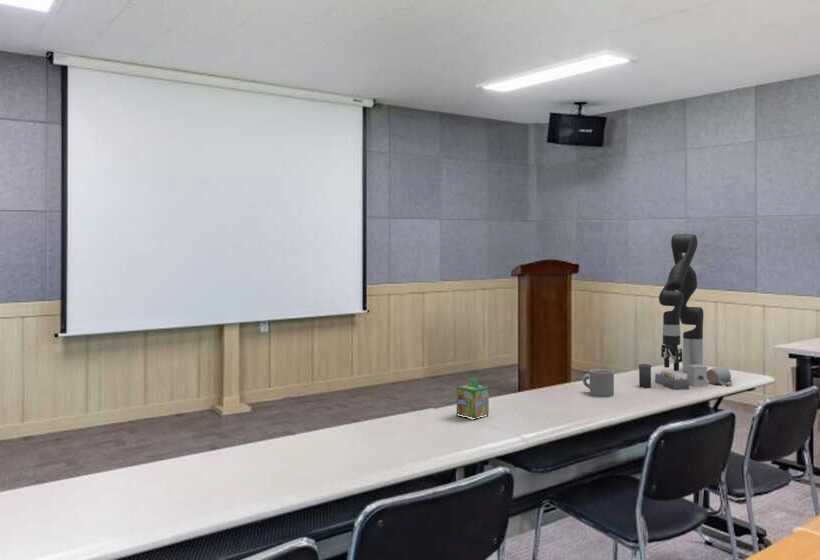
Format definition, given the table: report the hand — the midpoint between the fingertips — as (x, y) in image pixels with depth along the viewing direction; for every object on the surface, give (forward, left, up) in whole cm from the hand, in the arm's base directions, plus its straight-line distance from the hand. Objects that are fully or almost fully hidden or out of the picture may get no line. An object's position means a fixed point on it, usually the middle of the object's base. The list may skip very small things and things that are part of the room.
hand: (671, 369), depth 289 cm
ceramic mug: (+1, +23, -8) cm, 25 cm away
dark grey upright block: (0, -13, -8) cm, 15 cm away
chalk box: (+38, -101, -8) cm, 108 cm away
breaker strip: (0, 0, -8) cm, 8 cm away
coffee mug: (+10, -39, -8) cm, 41 cm away
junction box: (0, +12, -8) cm, 14 cm away
